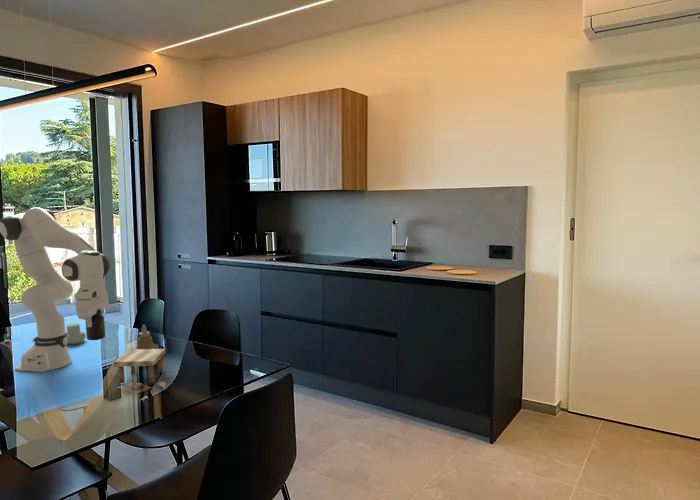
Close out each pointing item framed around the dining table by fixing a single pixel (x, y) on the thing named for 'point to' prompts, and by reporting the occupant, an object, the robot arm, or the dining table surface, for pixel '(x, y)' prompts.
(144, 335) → the squeeze bottle
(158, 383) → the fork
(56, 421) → the dining table surface
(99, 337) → the supplement bottle
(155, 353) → the stool
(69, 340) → the air freshener
